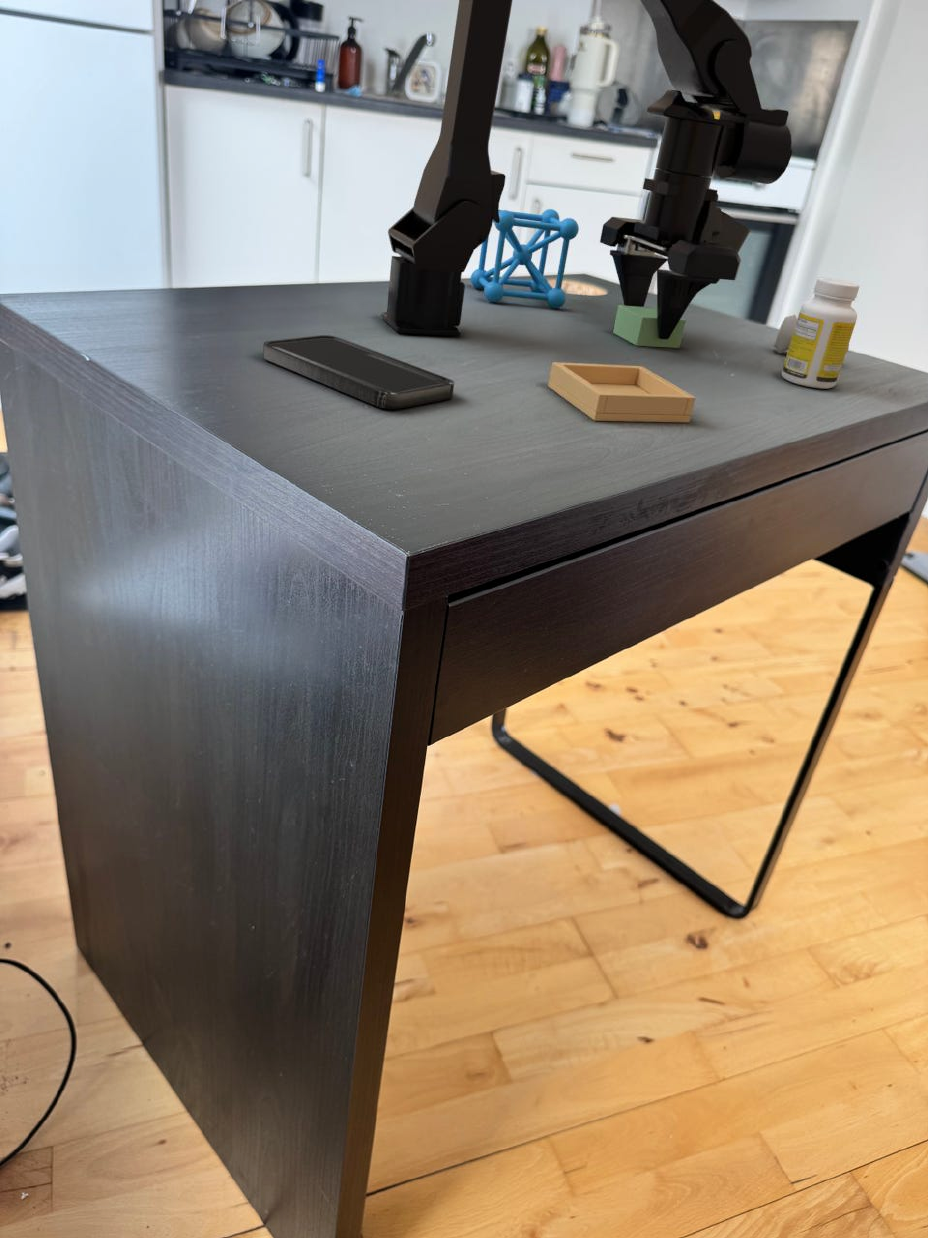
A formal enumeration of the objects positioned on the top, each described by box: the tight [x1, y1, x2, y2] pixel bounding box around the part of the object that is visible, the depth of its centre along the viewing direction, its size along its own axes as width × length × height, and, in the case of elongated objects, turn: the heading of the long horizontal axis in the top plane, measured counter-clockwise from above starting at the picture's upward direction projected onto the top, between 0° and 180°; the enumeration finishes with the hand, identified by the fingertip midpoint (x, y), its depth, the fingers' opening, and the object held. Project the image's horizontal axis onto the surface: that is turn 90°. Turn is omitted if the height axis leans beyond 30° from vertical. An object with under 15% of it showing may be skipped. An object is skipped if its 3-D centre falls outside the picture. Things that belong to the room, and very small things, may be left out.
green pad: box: [612, 304, 687, 349], centre depth 100 cm, size 5×5×3 cm
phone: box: [262, 334, 455, 410], centre depth 73 cm, size 8×1×15 cm
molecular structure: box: [470, 208, 580, 309], centre depth 109 cm, size 10×10×10 cm
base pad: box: [547, 361, 696, 423], centre depth 76 cm, size 9×9×2 cm
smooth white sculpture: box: [773, 314, 850, 356], centre depth 103 cm, size 4×8×5 cm
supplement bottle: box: [781, 276, 860, 390], centre depth 91 cm, size 5×5×10 cm
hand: (647, 330), depth 100 cm, fingers open, 6 cm apart
